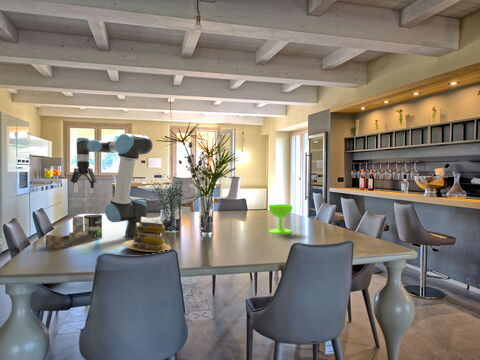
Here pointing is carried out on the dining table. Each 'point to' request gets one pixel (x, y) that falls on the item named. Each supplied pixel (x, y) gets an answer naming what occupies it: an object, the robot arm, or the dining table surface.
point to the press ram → (77, 228)
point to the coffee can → (93, 226)
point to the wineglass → (280, 217)
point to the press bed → (66, 241)
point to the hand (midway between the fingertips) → (83, 192)
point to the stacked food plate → (148, 236)
